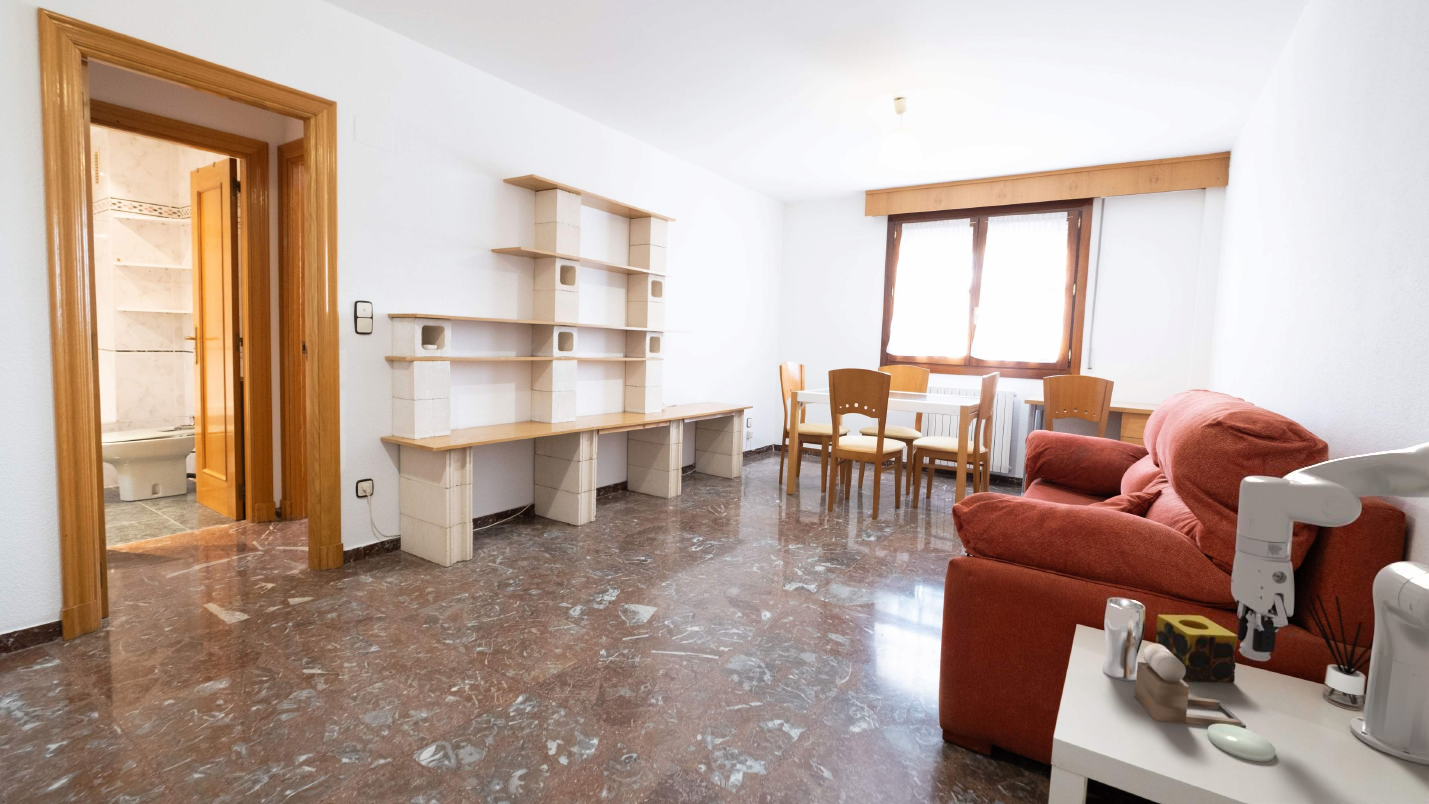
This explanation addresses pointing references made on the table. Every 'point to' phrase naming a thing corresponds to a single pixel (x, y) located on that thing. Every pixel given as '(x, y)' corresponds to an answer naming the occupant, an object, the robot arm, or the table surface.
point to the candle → (1199, 646)
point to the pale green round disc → (1241, 742)
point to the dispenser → (1172, 691)
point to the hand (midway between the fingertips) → (1255, 644)
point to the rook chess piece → (1248, 641)
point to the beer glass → (1123, 637)
